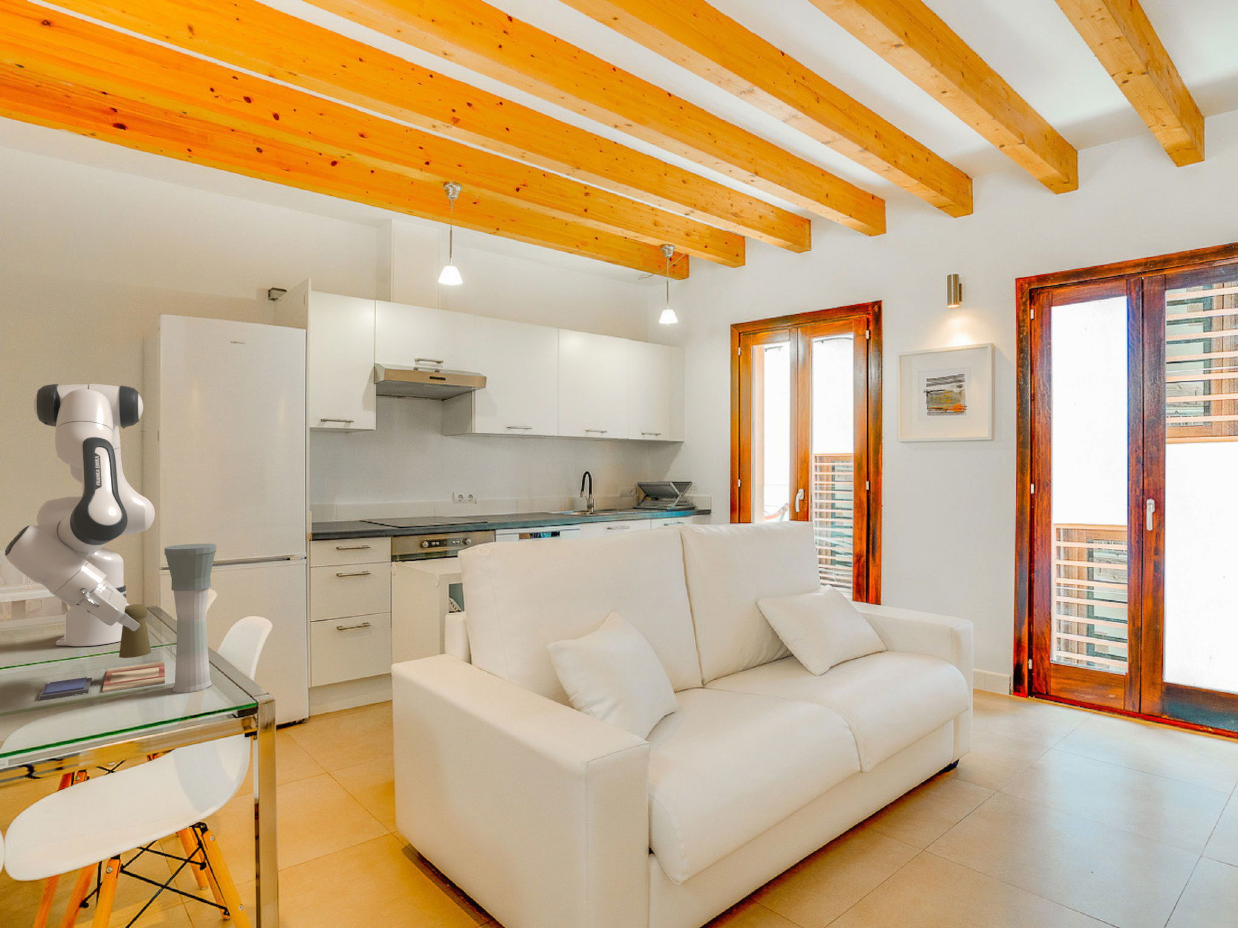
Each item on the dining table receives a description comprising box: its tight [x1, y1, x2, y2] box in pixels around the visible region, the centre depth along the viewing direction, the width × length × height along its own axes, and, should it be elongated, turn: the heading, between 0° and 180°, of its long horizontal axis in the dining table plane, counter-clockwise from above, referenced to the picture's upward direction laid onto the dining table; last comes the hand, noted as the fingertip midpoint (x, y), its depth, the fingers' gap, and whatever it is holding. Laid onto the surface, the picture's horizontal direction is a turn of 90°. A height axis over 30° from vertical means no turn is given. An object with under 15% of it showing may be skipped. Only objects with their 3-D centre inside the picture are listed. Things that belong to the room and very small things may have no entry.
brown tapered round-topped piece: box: [118, 603, 152, 659], centre depth 161 cm, size 6×6×11 cm
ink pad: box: [38, 676, 93, 701], centre depth 152 cm, size 10×8×1 cm
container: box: [164, 543, 217, 694], centre depth 153 cm, size 10×10×30 cm
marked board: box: [102, 661, 166, 693], centre depth 161 cm, size 18×11×1 cm, turn 32°
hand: (138, 625), depth 162 cm, fingers closed on brown tapered round-topped piece, 4 cm apart
